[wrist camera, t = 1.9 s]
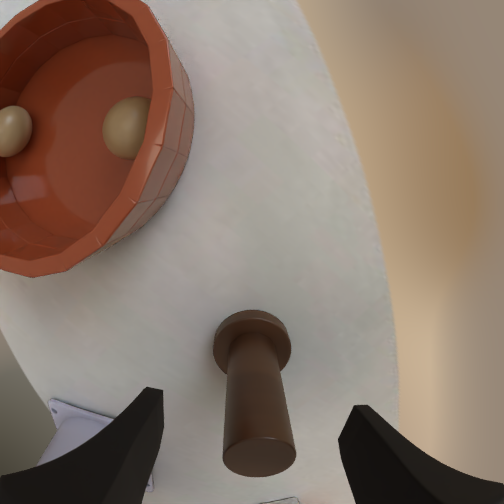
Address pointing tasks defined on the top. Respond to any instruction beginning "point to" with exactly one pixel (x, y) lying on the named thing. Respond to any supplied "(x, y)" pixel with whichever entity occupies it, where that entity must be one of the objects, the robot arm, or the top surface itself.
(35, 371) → the top surface
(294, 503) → the cosmetic box
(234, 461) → the pestle
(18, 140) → the bead
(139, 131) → the bead
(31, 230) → the bowl
